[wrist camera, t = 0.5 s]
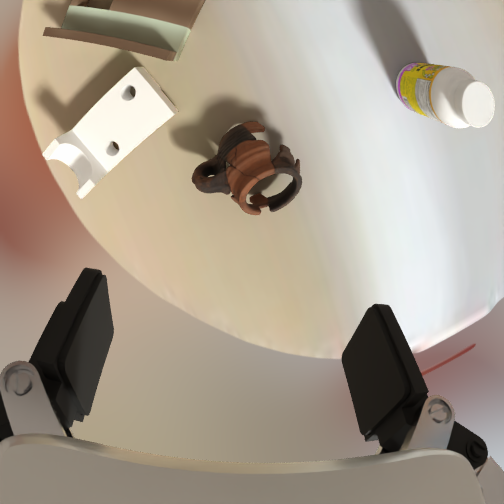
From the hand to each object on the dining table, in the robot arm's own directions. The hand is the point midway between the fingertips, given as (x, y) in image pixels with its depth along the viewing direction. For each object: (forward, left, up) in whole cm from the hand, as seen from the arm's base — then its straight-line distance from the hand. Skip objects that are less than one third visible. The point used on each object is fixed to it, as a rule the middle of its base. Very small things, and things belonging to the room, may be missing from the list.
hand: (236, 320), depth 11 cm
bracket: (+3, -14, -30) cm, 33 cm away
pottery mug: (+3, +2, -30) cm, 30 cm away
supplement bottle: (-16, +17, -29) cm, 38 cm away
